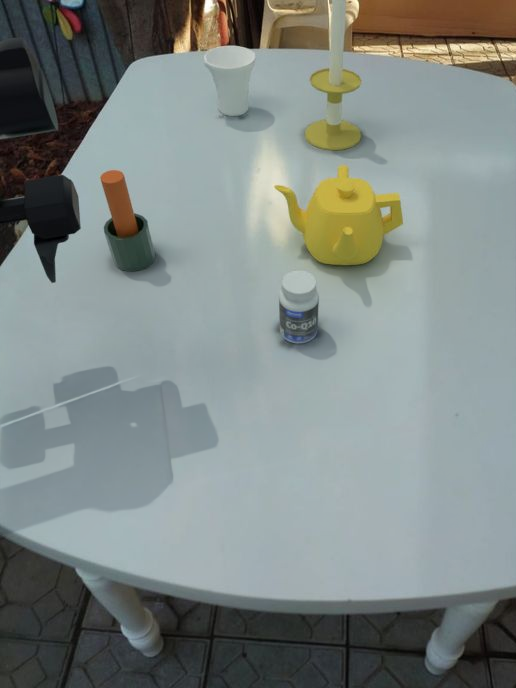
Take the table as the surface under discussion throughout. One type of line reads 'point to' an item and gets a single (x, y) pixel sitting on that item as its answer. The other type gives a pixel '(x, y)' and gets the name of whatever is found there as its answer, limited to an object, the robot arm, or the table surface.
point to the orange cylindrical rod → (119, 203)
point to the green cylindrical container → (131, 246)
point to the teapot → (344, 219)
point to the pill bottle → (298, 307)
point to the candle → (334, 91)
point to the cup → (231, 77)
